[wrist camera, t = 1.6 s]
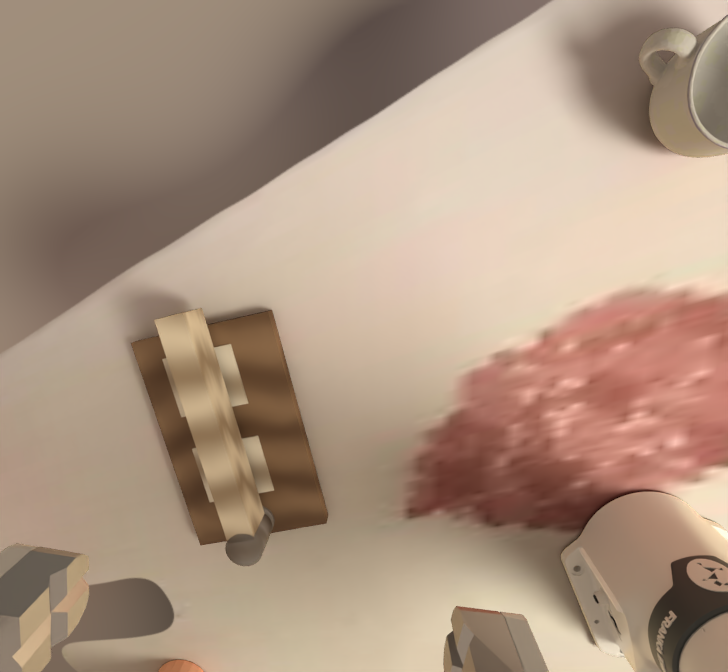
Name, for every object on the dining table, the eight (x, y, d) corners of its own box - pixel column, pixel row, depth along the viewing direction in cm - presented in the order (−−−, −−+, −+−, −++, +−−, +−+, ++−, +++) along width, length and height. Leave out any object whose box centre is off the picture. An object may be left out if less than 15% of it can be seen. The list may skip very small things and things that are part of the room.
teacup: (771, 91, 38) (873, 47, 30) (691, 191, 40) (767, 175, 32) (657, 2, 37) (731, -67, 29) (581, 109, 39) (631, 72, 31)
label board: (328, 515, 49) (325, 527, 47) (205, 537, 50) (198, 549, 48) (271, 310, 44) (266, 312, 42) (139, 340, 46) (126, 344, 44)
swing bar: (276, 537, 47) (266, 562, 43) (244, 543, 47) (231, 568, 43) (206, 306, 42) (187, 312, 38) (170, 315, 42) (149, 321, 38)
